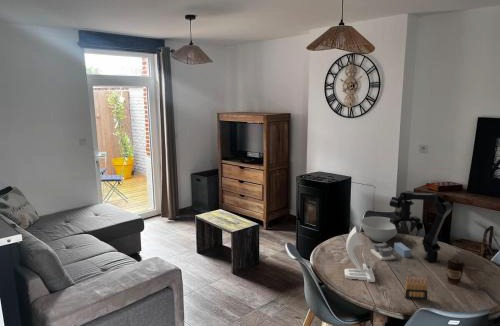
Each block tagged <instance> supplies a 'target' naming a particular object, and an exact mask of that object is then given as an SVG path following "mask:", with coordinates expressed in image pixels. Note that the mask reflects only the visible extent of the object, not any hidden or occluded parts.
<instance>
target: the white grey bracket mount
mask: <svg viewBox="0 0 500 326" xmlns="http://www.w3.org/2000/svg"><path fill="white" fill-rule="evenodd" d="M371 245H373V248H372V249H370V252H371V253H372V254H373V255H374V256H376V258H378V259H379V260H380V261H388V260H394V259H395V256H394V255H393V254H392V251H394V247H392V246H388V243H387V242H380V243H375V242H372V243H371ZM386 246H388V247H386Z"/></svg>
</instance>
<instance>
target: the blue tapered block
mask: <svg viewBox="0 0 500 326" xmlns="http://www.w3.org/2000/svg"><path fill="white" fill-rule="evenodd" d="M393 251H395V253H398V254H399V255H400V256H401V257H403V258H410V257H411V256H412V255H411V253H412V249H410V248H409V247H407V246H406V245H405V244H404V243H402V242H401V241H400V242H394V244H393ZM411 258H412V257H411Z"/></svg>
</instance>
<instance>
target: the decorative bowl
mask: <svg viewBox="0 0 500 326" xmlns="http://www.w3.org/2000/svg"><path fill="white" fill-rule="evenodd" d="M390 219H391V218H390V217H384V216H377V215H376V216H367V217H363V218H362V219H361V220H360V225H361V227H362V230H363V231H364V233H365V235H367V236H368V237H369V238H370V239H371V240H372V241H375V242H379V243H383V242H385V243H387V242H388V241H390V240H391V239H392V238H394V237H395V236H396V235H397V234H398V233H397V230H396V227H395V225H394V224H392V223H391V222H390ZM399 224H400V227H401V222H400V223H399Z"/></svg>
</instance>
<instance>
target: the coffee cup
mask: <svg viewBox="0 0 500 326" xmlns="http://www.w3.org/2000/svg"><path fill="white" fill-rule="evenodd" d="M446 263H447V264H446V265H447V267H446V271H447V272H446V275H447V276H446V277H447V281H446V282H448V283H449V284H452V285H461V280H462V276H463V272H464V267H465V265H466V264H465V263H464V260H463V259H460V258H455V257H452V258H448V260H447V262H446Z"/></svg>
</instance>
